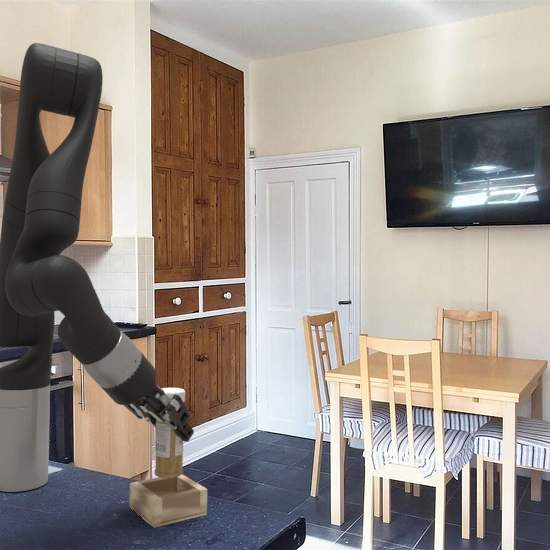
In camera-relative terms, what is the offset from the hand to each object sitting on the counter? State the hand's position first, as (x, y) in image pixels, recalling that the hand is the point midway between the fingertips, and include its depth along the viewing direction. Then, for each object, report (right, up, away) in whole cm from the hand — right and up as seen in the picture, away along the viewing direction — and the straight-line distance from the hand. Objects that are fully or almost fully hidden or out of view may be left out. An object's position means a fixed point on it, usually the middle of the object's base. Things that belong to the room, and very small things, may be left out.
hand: (178, 433), depth 99 cm
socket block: (-2, -12, -1) cm, 12 cm away
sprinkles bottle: (-1, -6, -1) cm, 7 cm away
